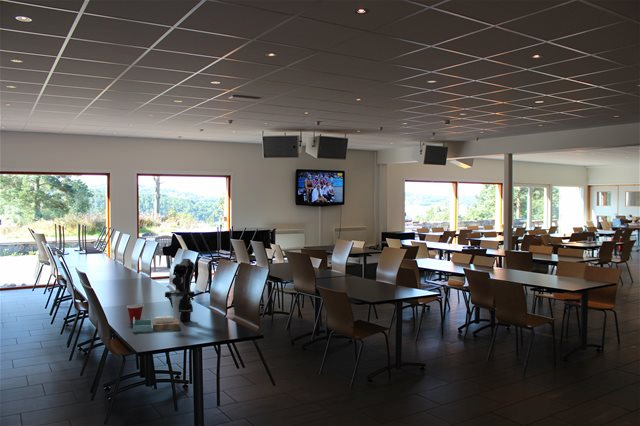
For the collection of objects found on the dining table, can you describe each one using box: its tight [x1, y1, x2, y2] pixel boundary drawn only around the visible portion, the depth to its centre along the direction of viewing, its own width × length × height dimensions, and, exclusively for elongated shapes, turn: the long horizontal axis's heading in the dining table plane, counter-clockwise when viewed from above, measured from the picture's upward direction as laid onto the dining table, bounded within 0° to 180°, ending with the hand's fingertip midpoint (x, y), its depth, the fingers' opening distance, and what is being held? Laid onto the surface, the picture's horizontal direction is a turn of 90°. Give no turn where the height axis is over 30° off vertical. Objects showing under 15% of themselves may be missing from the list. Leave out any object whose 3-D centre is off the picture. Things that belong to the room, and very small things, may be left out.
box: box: [132, 317, 154, 334], centre depth 339 cm, size 12×18×6 cm, turn 19°
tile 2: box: [163, 315, 174, 323], centre depth 344 cm, size 5×5×3 cm
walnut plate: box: [151, 317, 180, 332], centre depth 344 cm, size 16×16×4 cm
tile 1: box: [154, 315, 164, 323], centre depth 342 cm, size 5×5×3 cm
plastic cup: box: [126, 303, 145, 325], centre depth 355 cm, size 11×11×12 cm
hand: (179, 307), depth 346 cm, fingers open, 9 cm apart
